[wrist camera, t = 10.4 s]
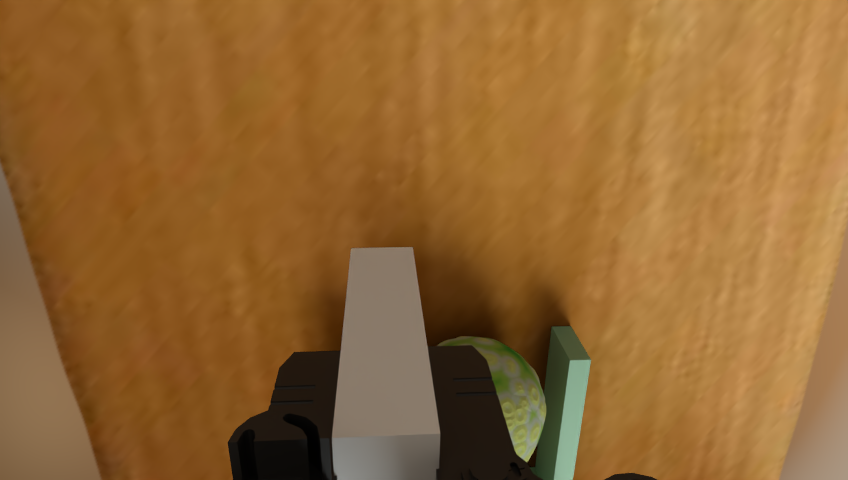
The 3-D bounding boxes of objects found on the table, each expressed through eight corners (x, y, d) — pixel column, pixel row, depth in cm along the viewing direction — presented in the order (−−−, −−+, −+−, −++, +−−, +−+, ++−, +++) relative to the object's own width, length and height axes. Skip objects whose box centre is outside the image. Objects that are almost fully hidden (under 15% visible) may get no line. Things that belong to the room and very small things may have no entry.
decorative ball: (435, 291, 42) (452, 372, 33) (549, 338, 44) (594, 426, 35) (378, 392, 45) (379, 493, 36) (487, 431, 47) (514, 535, 38)
